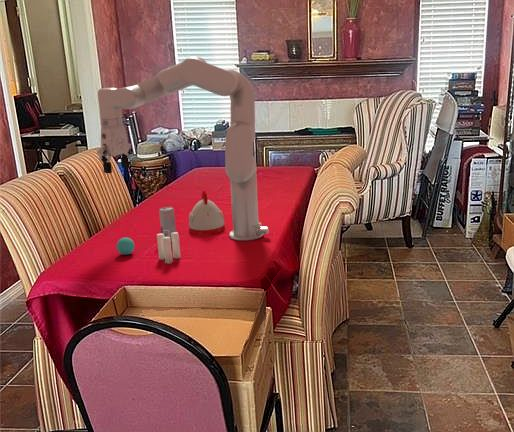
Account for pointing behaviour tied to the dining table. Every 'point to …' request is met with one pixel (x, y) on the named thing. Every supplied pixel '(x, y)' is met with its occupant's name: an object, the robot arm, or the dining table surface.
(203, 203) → the kitchen timer
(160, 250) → the front pin
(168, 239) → the pin
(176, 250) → the pin
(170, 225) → the energy drink
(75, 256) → the dining table surface
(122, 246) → the ball
